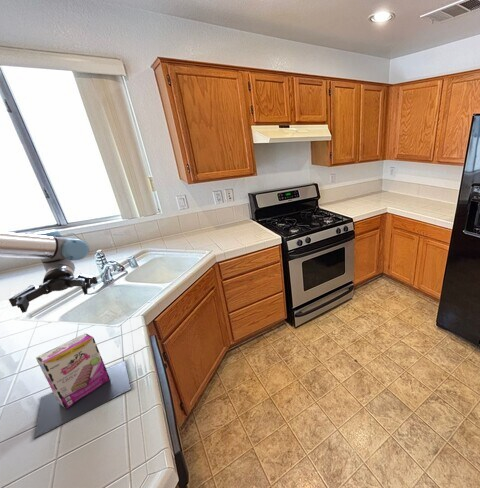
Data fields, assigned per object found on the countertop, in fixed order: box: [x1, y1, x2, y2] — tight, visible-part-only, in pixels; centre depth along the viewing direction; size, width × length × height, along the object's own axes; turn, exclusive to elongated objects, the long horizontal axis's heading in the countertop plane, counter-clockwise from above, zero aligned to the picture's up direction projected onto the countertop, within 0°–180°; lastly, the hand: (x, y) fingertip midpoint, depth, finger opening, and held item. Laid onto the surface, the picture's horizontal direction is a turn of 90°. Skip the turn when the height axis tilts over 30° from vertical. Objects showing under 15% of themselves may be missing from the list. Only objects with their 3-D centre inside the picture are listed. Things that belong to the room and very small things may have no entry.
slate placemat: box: [34, 360, 132, 439], centre depth 77 cm, size 20×16×1 cm
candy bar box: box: [35, 332, 110, 409], centre depth 75 cm, size 11×5×16 cm, turn 154°
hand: (55, 299), depth 79 cm, fingers open, 13 cm apart
